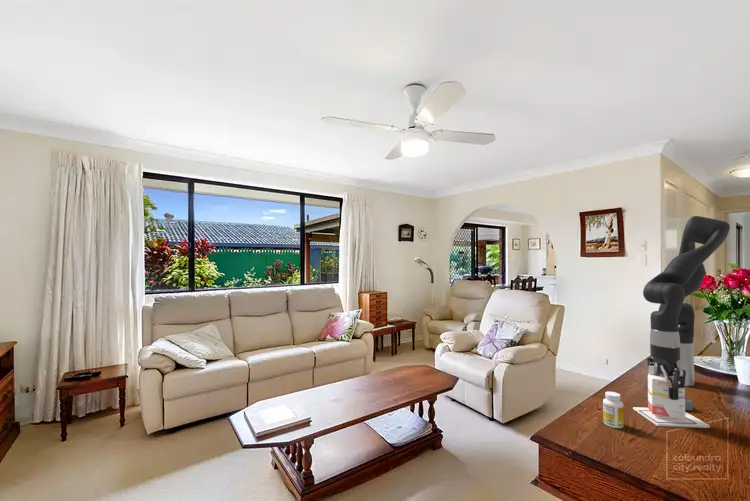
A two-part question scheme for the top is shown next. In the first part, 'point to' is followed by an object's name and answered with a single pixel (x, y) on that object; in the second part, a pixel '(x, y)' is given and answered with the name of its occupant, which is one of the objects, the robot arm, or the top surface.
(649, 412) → the sheet
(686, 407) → the button housing
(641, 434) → the top surface
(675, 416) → the ink cartridge box
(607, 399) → the supplement bottle
